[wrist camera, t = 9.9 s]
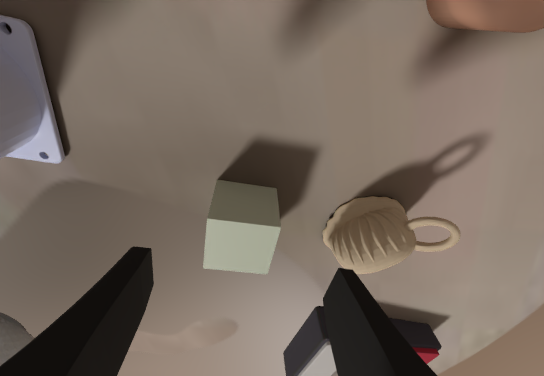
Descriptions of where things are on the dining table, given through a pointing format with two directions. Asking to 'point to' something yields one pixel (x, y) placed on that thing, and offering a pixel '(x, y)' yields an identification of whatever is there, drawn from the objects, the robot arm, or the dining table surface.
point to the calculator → (318, 354)
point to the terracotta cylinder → (488, 14)
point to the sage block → (242, 228)
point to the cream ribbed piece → (379, 234)
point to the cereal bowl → (11, 337)
